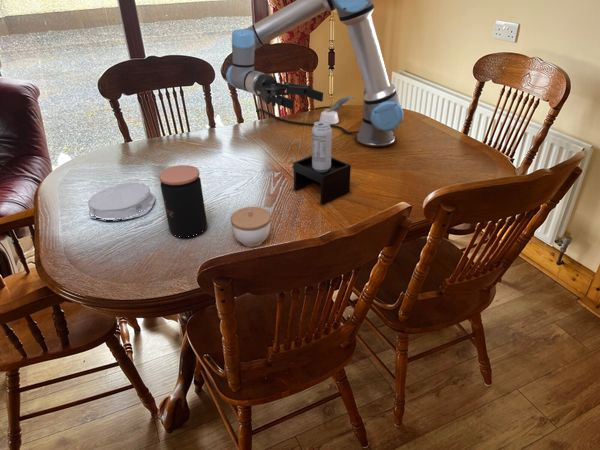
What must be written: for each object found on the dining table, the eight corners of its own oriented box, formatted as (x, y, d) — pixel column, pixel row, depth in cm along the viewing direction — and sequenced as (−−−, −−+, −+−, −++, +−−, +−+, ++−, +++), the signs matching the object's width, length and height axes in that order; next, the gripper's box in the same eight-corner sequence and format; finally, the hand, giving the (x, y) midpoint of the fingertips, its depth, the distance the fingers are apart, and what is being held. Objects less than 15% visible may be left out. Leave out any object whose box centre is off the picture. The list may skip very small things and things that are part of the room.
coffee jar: (173, 221, 134) (162, 165, 125) (209, 219, 135) (201, 163, 125) (167, 241, 125) (155, 183, 116) (206, 238, 126) (197, 181, 116)
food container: (118, 230, 130) (112, 210, 126) (75, 213, 139) (69, 193, 136) (169, 201, 144) (165, 182, 141) (127, 187, 153) (122, 168, 150)
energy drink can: (334, 168, 144) (335, 123, 136) (322, 174, 141) (322, 128, 133) (320, 163, 148) (320, 119, 140) (308, 169, 144) (307, 124, 136)
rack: (293, 189, 150) (293, 162, 144) (320, 178, 156) (320, 152, 151) (323, 204, 141) (323, 176, 136) (349, 192, 147) (350, 165, 142)
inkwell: (315, 120, 207) (315, 98, 202) (346, 113, 215) (347, 92, 209) (326, 126, 200) (326, 103, 195) (358, 118, 208) (359, 97, 203)
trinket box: (277, 233, 127) (276, 204, 122) (262, 254, 119) (260, 224, 114) (243, 227, 130) (240, 199, 125) (226, 247, 122) (222, 218, 117)
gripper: (287, 90, 162) (332, 105, 150) (233, 102, 146) (278, 120, 134) (288, 68, 158) (334, 82, 146) (232, 79, 142) (279, 95, 130)
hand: (307, 100), depth 140 cm, fingers open, 13 cm apart
